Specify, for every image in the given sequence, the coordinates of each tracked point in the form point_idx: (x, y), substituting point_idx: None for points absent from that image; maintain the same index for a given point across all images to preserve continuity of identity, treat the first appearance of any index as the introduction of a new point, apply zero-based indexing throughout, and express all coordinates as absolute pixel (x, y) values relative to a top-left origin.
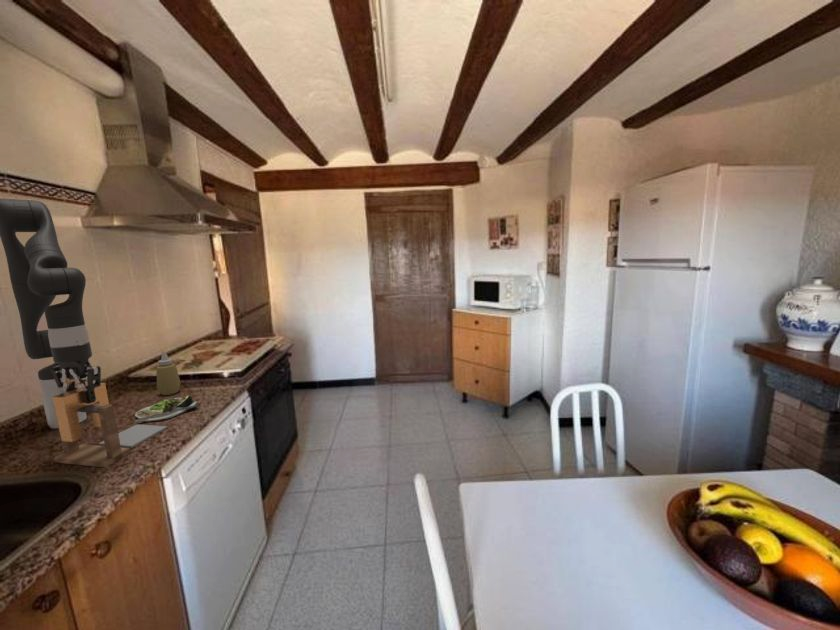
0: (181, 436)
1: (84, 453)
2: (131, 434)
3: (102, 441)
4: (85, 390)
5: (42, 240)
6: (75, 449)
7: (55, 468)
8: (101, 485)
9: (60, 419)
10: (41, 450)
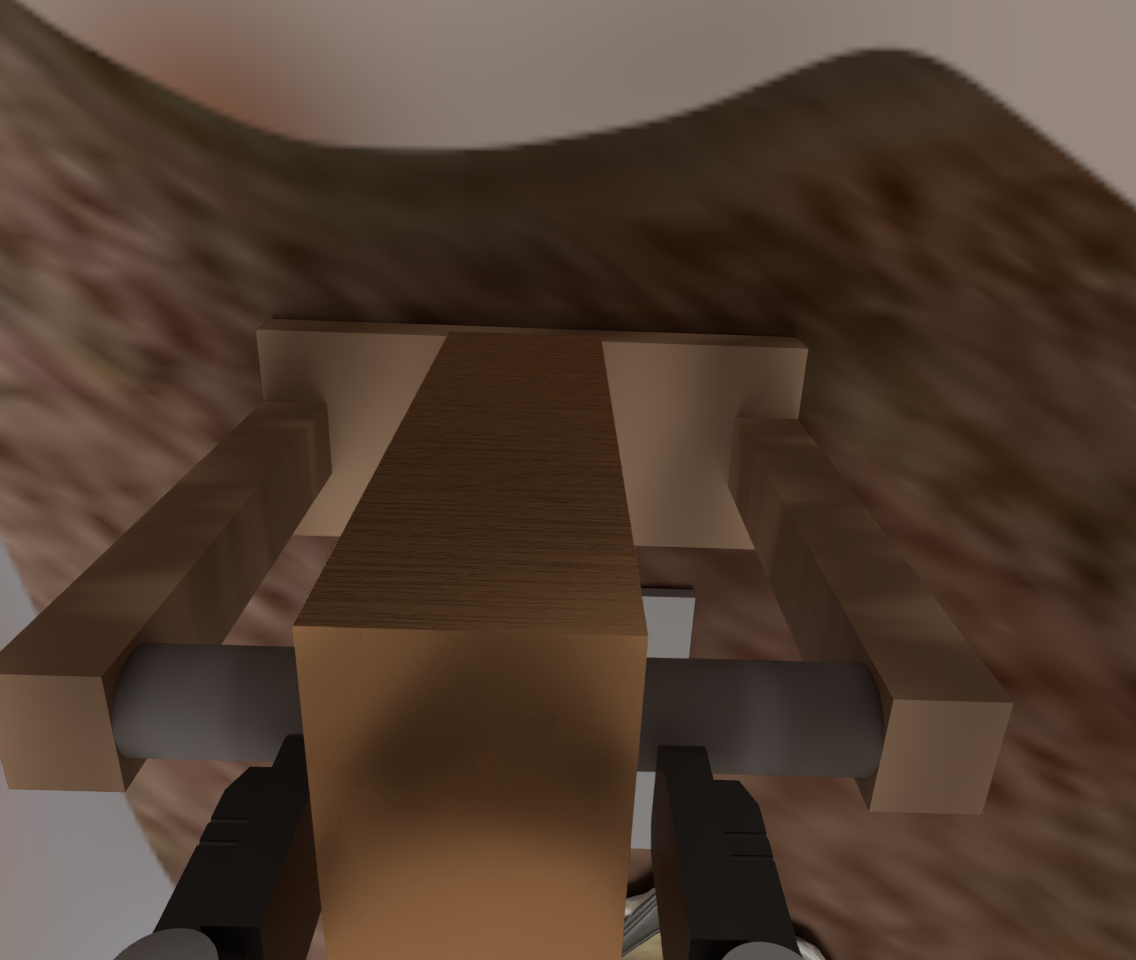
0: None
1: None
2: None
3: (689, 620)
4: (139, 947)
5: None
6: (733, 464)
7: (699, 261)
8: (4, 89)
9: (549, 424)
10: (1124, 476)
